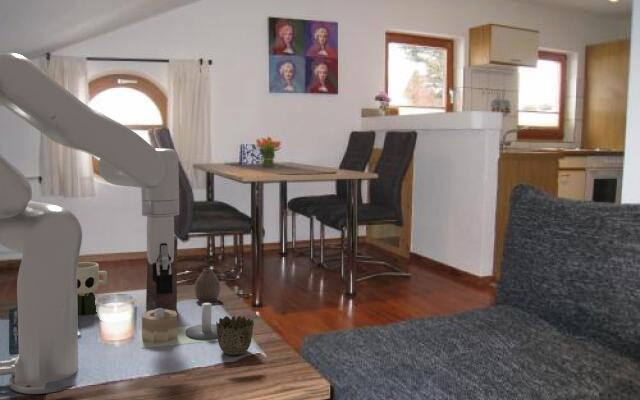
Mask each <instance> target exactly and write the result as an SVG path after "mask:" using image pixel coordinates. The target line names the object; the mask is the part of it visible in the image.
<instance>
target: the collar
mask: <svg viewBox="0 0 640 400" xmlns="http://www.w3.org/2000/svg"><path fill="white" fill-rule="evenodd" d="M177 327H178V313H177V311H173V310H167V309H164V317H155V310H150V311H147V312H146V311H145V312H142V313H141V330H142V340H143V341H145V342H150V343H162V342H169V341H171V340H173V339H175V338H177Z"/></svg>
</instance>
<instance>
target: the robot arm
mask: <svg viewBox="0 0 640 400" xmlns="http://www.w3.org/2000/svg"><path fill="white" fill-rule="evenodd" d="M0 106H1V107H4V108H6V109H7V110H9V111H10V112H12V113H13V114H15V115H17V117H19V118H20V119H22V120H23V121H24V122H26V123H27V124H29V125H30V126H32V127H33V128H35V130H37V131H39V132H40V133H42V134H43V135H44V136H46V138H48V139H50V140H51V141H52V142H55V143H56V144H59V145H61V146H63V147H66V148H69V149H71V150H74V151H78V152H82V153H85V154H88V155H90V156H93V157H96V158H98V159H99V161H98V164H97V167H98V172H99V175H100V176H101V177H102V179H104V181H105V182H107V183H109V184H112V185H115V186H120V187H121V186H122V187H133V188H139V189H141V191H140V192H141V216H144V217H146V259H147V258H148V261H149V263H150V264H153V263H156V264H153V282H156V293H157V294H169V293H172V292H173V287H172V274H171V263H172V262H173V261H174V236H175V222H174V221H175V216H179V215H180V185H179V184H180V182H179V181H180V179H179V178H180V177H179V175H180V174H179V172H180V171H179V154H178V152H177V151H176V150H175V149H173V148H162V147H161V148H159V147H158V148H155V147H154V146H152V145H151V144H150V143H149V142H148V141H146V140H145V139H144V138H143V137H142V136H141V135H139V134H138V133H137V132H135V131H134V130H132V129H131V128H129V127H127V126H125V125H123V124H122V123H120V122H119V121H116V120H114V119H112V118H110V117H109V116H107V115H105V113H104V114H103V113H101V111H98V110H96V109H94V108H92V107H91V106H88V105H87V104H85V103H84V102H83V101H82V100H80V99H79V98H78V97H77V96H75V94H73V93H71V92H70V91H69V89H67V88H66V87H64V86H63V85H62V84H60V83H59V82H58V81H57V80H55V79H54V78H53V77H51V75H49V74H48V73H46V71H44V70H43V69H42V68H41V67H39V66H38V65H37V64H36V63H35V62H33V61H32V60H30V59H29V58H27V57H25V56H23V55H21V54H19V53H15V52H0ZM32 198H33V190H32V185H31V184H30V182H29V180H28V178H27V177H26V176H25V174H24V173H22V171H20V169H18V168H17V167H16V166H14V165H13V163H11V162H10V161H9V160H8V159H7V158H6V157H5V156H4V155H2V154H1V153H0V245H1V246H2V247H4V248H6V249H8V250H11V251H13V252H16V253H20V254H22V256H21V257H22V258H21V262H20V265H19V270H18V273H17V274H18V275H17V279H16V280H17V283H16V291H17V292H16V295H17V298H16V299H17V328H18V329H17V330H18V331H17V332H18V355H17V357H12V358H11V360H10V359H8V360H0V377H1V376H5V375H6V376H7V375H10V376H9V381H8V383H9V384H8V386H9V388H10V389H11V390H13V391H15V392H17V393H20V394H27V395H41V394H51V393H56V392H61V391H64V390H68V389H70V388H74V387H75V386H76V384H71V385H70V384H69V385H64V386H63V385H61V386H52V387H46V386H47V383H53V382H58V381H63V380H65V379H67V378H69V377H72V376H73V375H75V374H76V373H78V370H79V333H78V332H79V331H78V330H79V329H78V328H79V325H78V324H79V319H78V317H79V316H78V302H77V269H78V262H79V260H80V259H79V258H80V252H81V246H82V244H83V243H82V242H83V241H82V240H83V231H82V225H81V223H80V221H79V219H78V217H77V216H76V214H74V213H73V212H72V211H71V210H69V209H67V208H66V207H63V206H60V205H56V204H52V203H47V202H38V201H33V200H32Z"/></svg>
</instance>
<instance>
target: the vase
mask: <svg viewBox="0 0 640 400" xmlns="http://www.w3.org/2000/svg"><path fill="white" fill-rule="evenodd" d="M220 293H221V283H220V280H219V278H218V277H217V275H216V274H215V272H214V270H213V269H211V268H204V269H202V272H201V274H200V275H199V276H198V277H197V278H196V280H195V284H194V294H195V297H196V299H197V300H198V301H199V302H200V303H202V304H203V303H210V302H211V303H214V302H215V301H217V299H218V298H219V296H220Z"/></svg>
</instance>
